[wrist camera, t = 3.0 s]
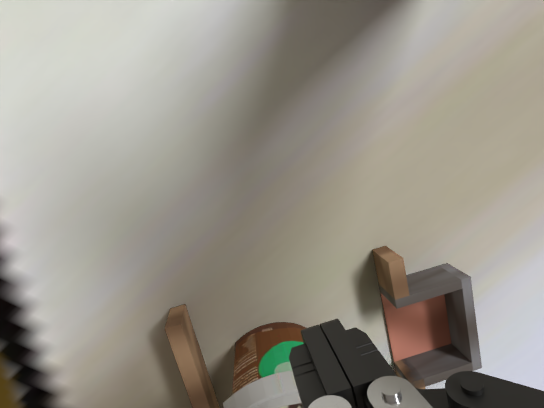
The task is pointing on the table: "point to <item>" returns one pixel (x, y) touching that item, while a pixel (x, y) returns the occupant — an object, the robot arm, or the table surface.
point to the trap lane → (399, 319)
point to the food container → (265, 368)
